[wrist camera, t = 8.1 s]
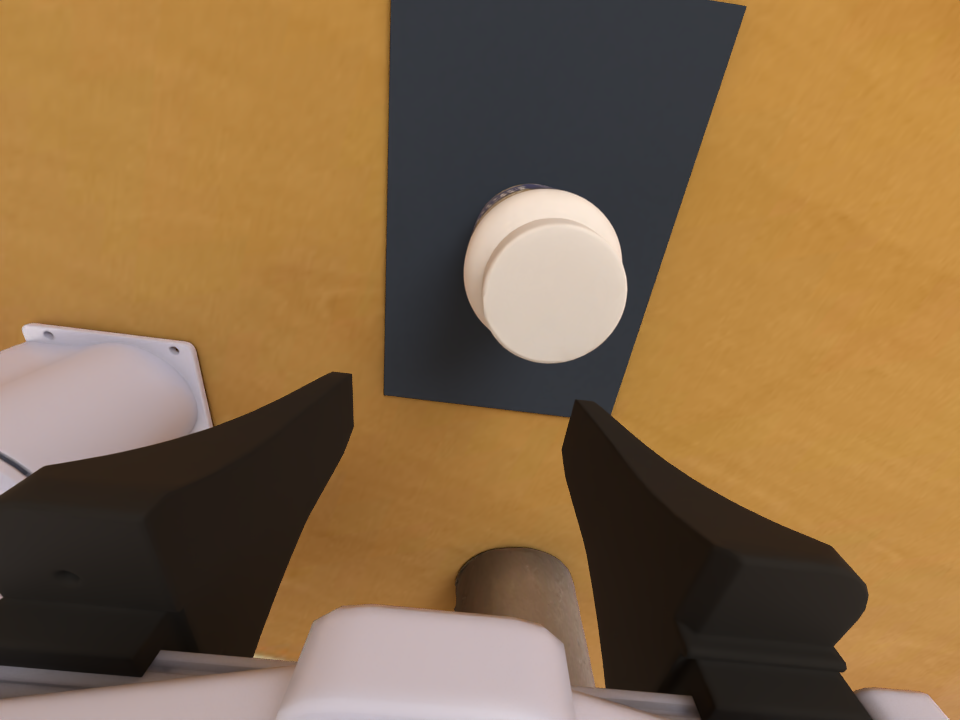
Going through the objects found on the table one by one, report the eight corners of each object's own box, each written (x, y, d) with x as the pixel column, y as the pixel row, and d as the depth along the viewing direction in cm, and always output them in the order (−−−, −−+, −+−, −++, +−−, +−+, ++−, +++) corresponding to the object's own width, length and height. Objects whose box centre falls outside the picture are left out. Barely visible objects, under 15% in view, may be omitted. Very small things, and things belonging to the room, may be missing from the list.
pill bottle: (507, 159, 18) (526, 144, 9) (601, 221, 19) (701, 262, 10) (452, 262, 20) (422, 332, 11) (539, 312, 21) (577, 413, 12)
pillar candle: (431, 577, 31) (387, 885, 18) (528, 526, 28) (563, 845, 15) (504, 633, 34) (513, 930, 21) (598, 592, 31) (679, 905, 18)
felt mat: (384, 392, 24) (383, 395, 23) (393, -47, 15) (391, -52, 15) (607, 419, 24) (608, 422, 24) (742, 8, 15) (747, 5, 15)
